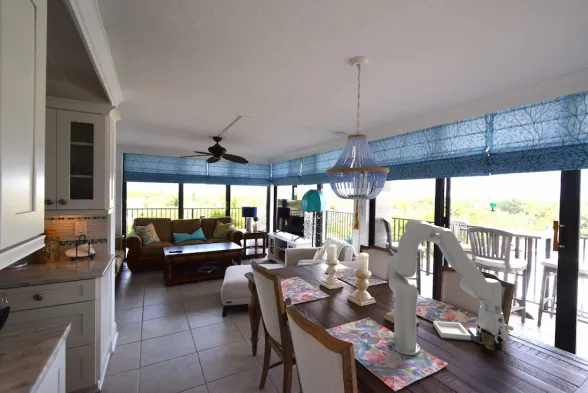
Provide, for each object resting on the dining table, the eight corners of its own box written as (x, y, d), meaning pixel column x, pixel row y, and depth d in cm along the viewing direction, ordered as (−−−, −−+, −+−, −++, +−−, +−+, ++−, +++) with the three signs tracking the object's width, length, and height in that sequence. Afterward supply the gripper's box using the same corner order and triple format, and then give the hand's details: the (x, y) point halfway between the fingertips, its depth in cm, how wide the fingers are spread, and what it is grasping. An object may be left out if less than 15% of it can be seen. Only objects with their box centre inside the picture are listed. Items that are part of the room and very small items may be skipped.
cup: (504, 354, 116) (504, 336, 116) (485, 352, 118) (485, 334, 118) (495, 345, 123) (495, 328, 123) (477, 343, 125) (477, 326, 125)
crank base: (475, 342, 127) (475, 335, 127) (468, 333, 135) (468, 327, 135) (494, 344, 126) (494, 337, 126) (485, 335, 133) (485, 329, 133)
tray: (441, 337, 132) (441, 332, 132) (433, 325, 144) (433, 320, 144) (470, 340, 129) (470, 335, 129) (459, 327, 142) (459, 322, 142)
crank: (474, 330, 131) (474, 314, 131) (478, 328, 133) (478, 313, 133) (511, 345, 118) (511, 328, 118) (515, 343, 120) (515, 326, 120)
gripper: (516, 314, 113) (516, 356, 113) (481, 299, 130) (481, 335, 130) (501, 315, 111) (500, 358, 111) (468, 299, 129) (467, 336, 129)
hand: (490, 345), depth 121 cm, fingers closed on cup, 6 cm apart
